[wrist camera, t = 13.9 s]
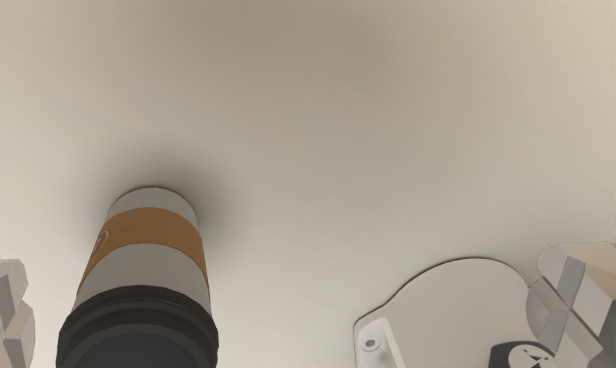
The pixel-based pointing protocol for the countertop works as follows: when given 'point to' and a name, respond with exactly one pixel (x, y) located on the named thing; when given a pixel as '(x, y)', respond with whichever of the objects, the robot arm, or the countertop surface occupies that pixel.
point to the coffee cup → (143, 291)
